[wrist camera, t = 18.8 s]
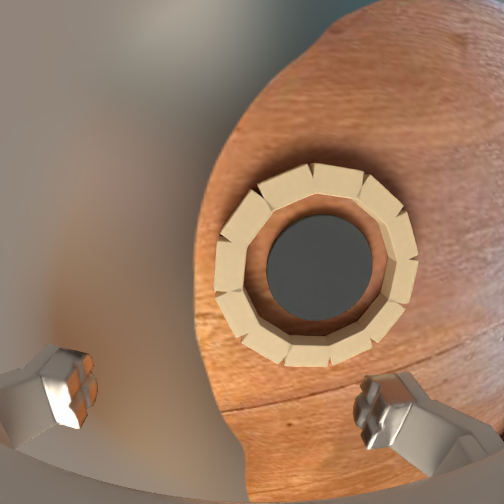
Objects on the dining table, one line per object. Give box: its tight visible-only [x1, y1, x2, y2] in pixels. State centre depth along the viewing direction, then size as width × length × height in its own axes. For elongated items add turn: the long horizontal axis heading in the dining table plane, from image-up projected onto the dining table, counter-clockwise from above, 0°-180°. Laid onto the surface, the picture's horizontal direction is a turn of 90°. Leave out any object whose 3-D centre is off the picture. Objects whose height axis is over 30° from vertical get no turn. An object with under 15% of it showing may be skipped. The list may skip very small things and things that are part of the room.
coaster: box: [266, 214, 372, 321], centre depth 23 cm, size 8×8×1 cm
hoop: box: [213, 163, 419, 367], centre depth 22 cm, size 15×15×2 cm
